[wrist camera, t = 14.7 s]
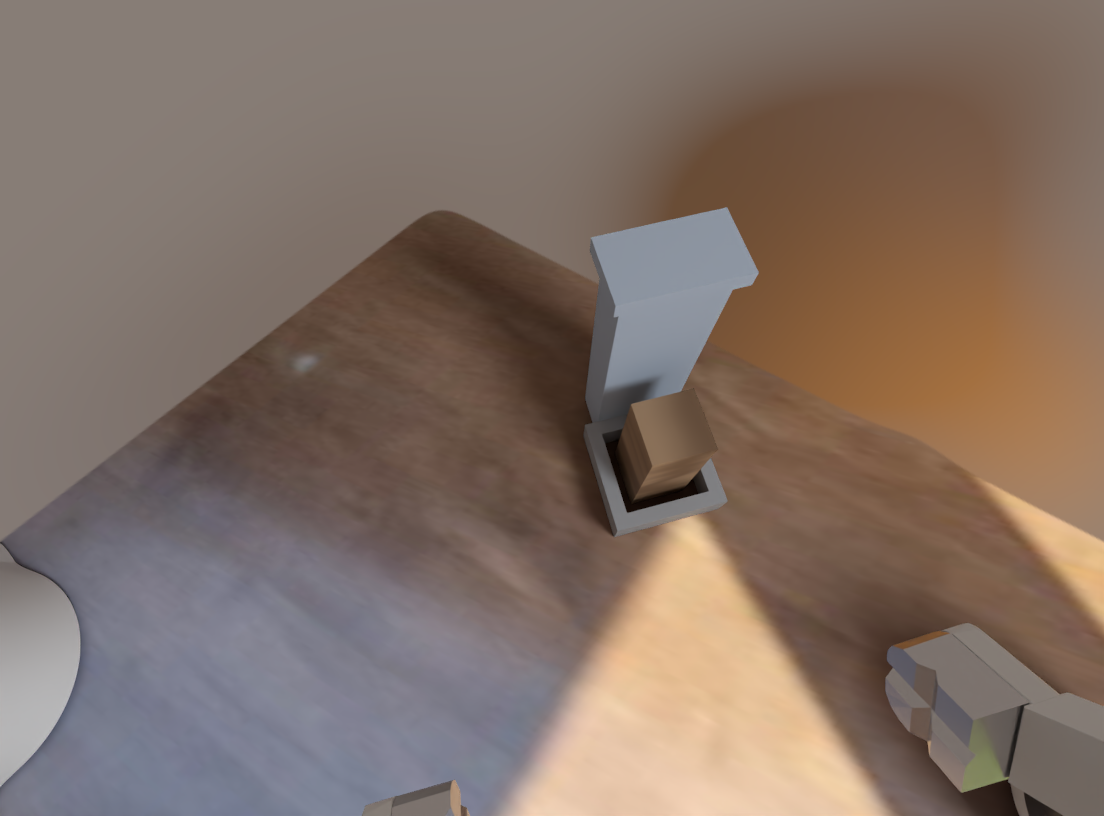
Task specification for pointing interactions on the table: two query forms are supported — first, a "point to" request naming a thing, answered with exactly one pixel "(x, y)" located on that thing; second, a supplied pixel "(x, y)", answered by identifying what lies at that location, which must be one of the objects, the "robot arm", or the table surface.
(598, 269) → the grey tower with tray
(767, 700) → the table surface
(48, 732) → the robot arm
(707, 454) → the wooden square post
